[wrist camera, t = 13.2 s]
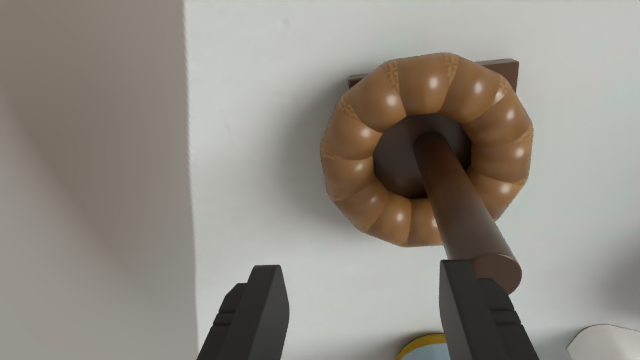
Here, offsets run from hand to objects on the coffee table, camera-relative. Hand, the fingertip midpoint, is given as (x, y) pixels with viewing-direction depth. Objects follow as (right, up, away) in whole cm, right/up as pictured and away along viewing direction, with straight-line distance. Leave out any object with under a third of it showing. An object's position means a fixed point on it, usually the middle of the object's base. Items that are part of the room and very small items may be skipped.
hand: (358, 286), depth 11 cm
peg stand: (+5, +5, +9) cm, 12 cm away
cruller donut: (+4, +4, +7) cm, 9 cm away
